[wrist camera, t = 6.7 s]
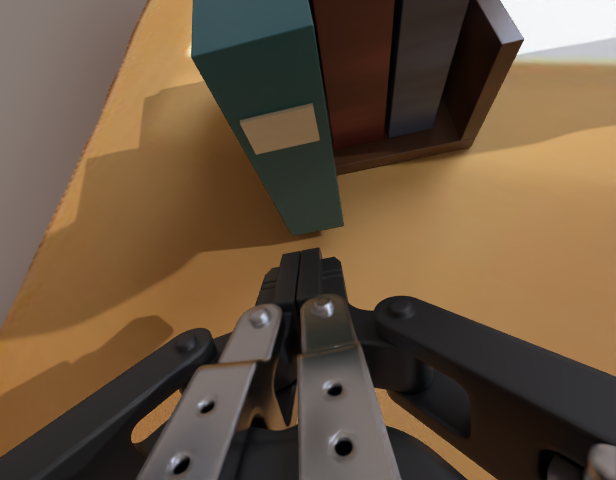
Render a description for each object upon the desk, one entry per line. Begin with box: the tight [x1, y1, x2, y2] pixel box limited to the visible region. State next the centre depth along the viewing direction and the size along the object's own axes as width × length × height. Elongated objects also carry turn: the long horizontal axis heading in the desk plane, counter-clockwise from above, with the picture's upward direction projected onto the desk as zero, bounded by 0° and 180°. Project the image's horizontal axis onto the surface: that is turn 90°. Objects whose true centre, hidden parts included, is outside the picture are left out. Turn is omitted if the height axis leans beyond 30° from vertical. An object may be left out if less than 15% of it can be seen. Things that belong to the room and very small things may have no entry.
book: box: [191, 0, 344, 236], centre depth 19 cm, size 12×4×15 cm, turn 8°
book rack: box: [308, 0, 524, 175], centre depth 22 cm, size 15×17×15 cm
